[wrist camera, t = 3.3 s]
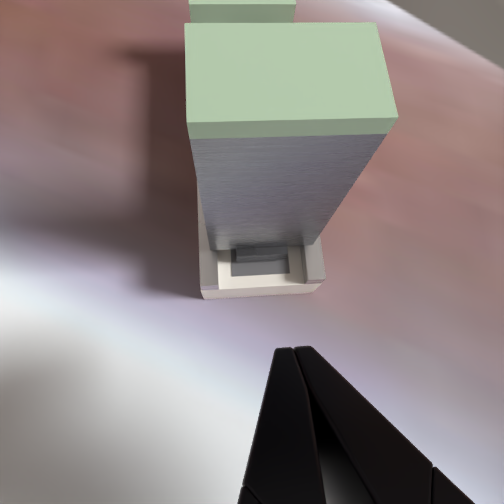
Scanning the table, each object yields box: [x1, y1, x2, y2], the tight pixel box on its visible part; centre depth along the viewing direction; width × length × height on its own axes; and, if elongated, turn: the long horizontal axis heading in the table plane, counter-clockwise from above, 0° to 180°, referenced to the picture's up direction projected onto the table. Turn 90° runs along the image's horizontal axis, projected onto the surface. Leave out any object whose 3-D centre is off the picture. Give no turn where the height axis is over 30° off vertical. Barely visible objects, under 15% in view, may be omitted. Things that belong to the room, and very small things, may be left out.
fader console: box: [189, 0, 326, 299], centre depth 17 cm, size 14×5×4 cm, turn 4°
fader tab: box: [185, 22, 398, 262], centre depth 11 cm, size 3×4×8 cm
